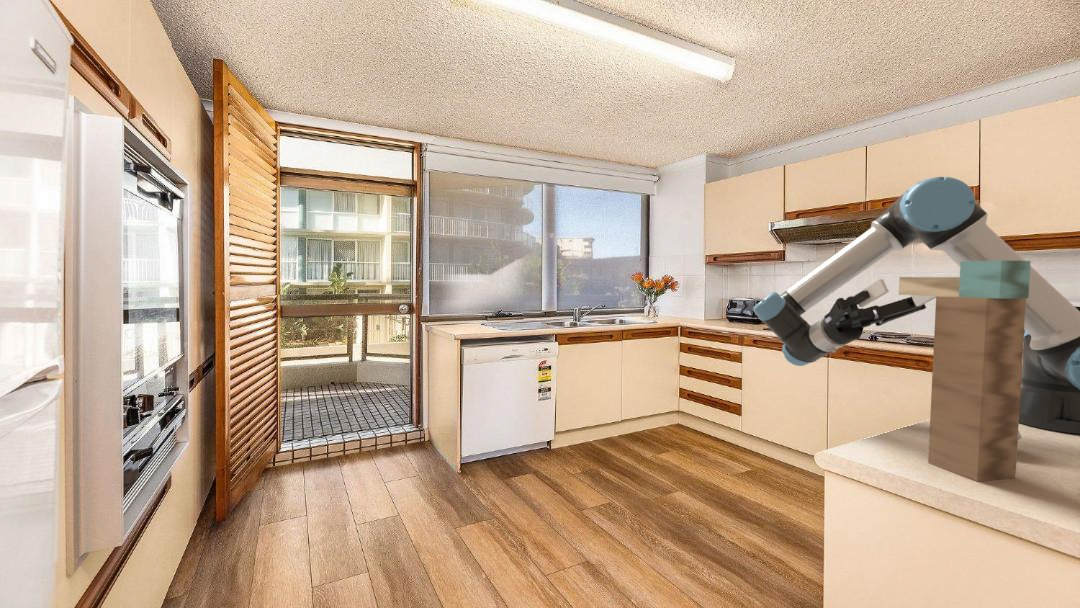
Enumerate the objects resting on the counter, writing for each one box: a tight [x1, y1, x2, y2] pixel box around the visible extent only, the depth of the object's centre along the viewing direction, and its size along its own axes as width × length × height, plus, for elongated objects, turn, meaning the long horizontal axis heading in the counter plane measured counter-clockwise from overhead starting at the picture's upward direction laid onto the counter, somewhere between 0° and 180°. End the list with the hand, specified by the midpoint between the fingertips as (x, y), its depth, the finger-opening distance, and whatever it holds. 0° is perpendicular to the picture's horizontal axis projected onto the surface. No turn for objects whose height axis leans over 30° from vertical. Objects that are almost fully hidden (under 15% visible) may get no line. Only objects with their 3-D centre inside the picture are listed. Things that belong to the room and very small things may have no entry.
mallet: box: [898, 260, 1032, 299], centre depth 84 cm, size 6×18×6 cm, turn 12°
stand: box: [927, 296, 1026, 482], centre depth 81 cm, size 8×8×30 cm
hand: (914, 285), depth 91 cm, fingers open, 13 cm apart
